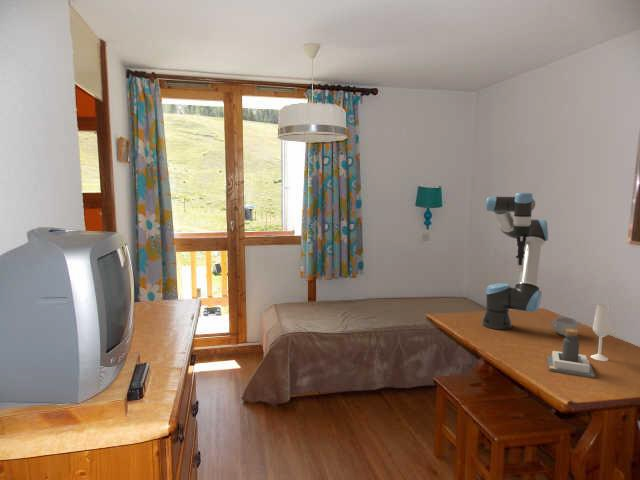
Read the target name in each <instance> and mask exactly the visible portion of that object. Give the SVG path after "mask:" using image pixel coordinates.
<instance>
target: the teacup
mask: <svg viewBox="0 0 640 480" xmlns="http://www.w3.org/2000/svg"><path fill="white" fill-rule="evenodd" d="M579 324H580V321H579V320H577V319H575V318H572V317H568V316H556V317H555V319H554V320H551V321H550V324H549V325H550V327H551V329H553V330H554V331H556V332H557V333H558V334H559V335H561V336H564V337H565V333H566V329H575V330H578V331H579Z"/></svg>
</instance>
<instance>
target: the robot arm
mask: <svg viewBox="0 0 640 480" xmlns="http://www.w3.org/2000/svg"><path fill="white" fill-rule="evenodd" d="M514 195H515V196H489V197H487V198H486V203H485V204H486V205H485V206H486V211H488V212H494V215H495V218H496V219H497V221H498V228H499V230H500V231H501V232H502V233H503V234H504V235H506V236H508V237H510V238H512V239H516V242H517V243H516V246H517V255H515V258H516V272H518V273H519V279H518V282H517V283H515V285H514V286H515V287H511V285H510V284H509V283H503V282H502V283H500V282H499V283H494V284H492V283H491V284H490V285H488V286H487V287H486V300H485V301H486V303H485V304H486V305H485V312H484V315H483V316H482V319H481V324H482V326H484V327H486V328H488V329H493V330H494V329H495V330H509V329H512V320H511V316H510V313H509V311H510V310H516V311H522V312H526V313H527V312H529V313H530V312H531V313H535V312H537V311H538V310H539V307H540V305H541V301H542V294H543V293H542V290H540V287H539V286H538V284H537V283H538V275H539V274H538V273H539V266H540V258H541V250H542V246H544V245H545V242H547V241H549V232H548V231H549V229H548V221H547V220H546V219H545V220H544V219H539V218H538V219H533V218H532V211H533V210H534V208H535V207H536V201H535V199H534V198H533V193H531V192H517V193H515V194H514ZM513 212H514V213H513ZM512 213H513V215H512Z"/></svg>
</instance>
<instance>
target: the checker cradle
mask: <svg viewBox="0 0 640 480" xmlns="http://www.w3.org/2000/svg"><path fill="white" fill-rule="evenodd" d="M546 358H547V363H548V370H549V372H553V373H554V372H555V373H559V374H561V373H562V374H566V375H573V376H578V377H586V378H591V379H595V378H596V375H595V373H594V370H593V367H592V365H591V363H590V361H589V360H588V358H587V355H586V354H578V363H577V362H570V361H563V360H562V351H559V350H558V351H557V350H552V353H551V355H547V356H546Z"/></svg>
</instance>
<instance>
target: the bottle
mask: <svg viewBox="0 0 640 480" xmlns="http://www.w3.org/2000/svg"><path fill="white" fill-rule="evenodd" d="M579 336H580V335H579V329H578V330H575V329H566V333H565V336H564V338H563V341H562V351H561V352H562V360H563V361H570V362H577V363H578V354H579V353H580V341H579Z"/></svg>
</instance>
